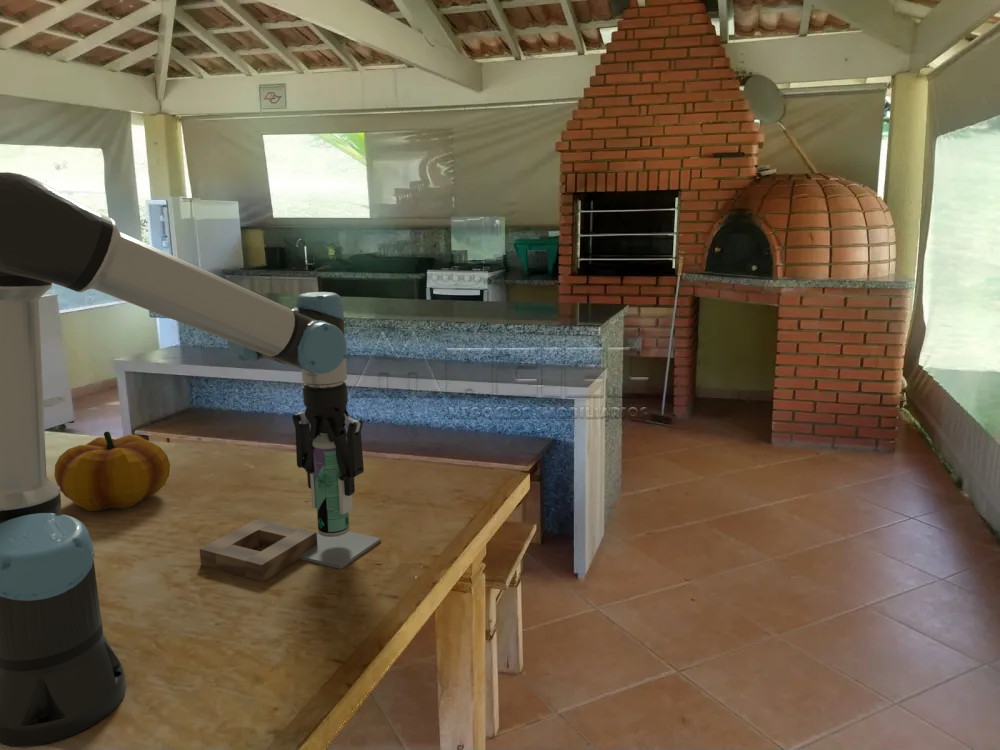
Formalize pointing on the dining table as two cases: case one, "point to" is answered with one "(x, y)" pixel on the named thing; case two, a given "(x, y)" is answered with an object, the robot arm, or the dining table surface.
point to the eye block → (242, 560)
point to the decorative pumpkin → (112, 472)
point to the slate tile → (339, 549)
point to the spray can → (328, 488)
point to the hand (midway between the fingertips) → (332, 508)
